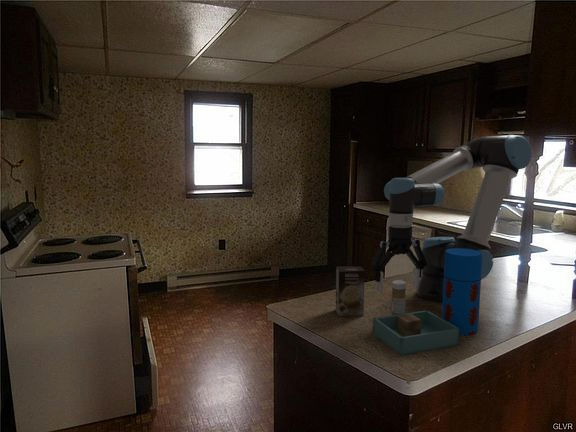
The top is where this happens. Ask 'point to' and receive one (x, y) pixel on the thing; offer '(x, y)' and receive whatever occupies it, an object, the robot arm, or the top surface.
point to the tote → (432, 334)
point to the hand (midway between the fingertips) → (397, 289)
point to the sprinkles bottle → (398, 297)
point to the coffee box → (350, 291)
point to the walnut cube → (409, 325)
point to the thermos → (462, 289)
